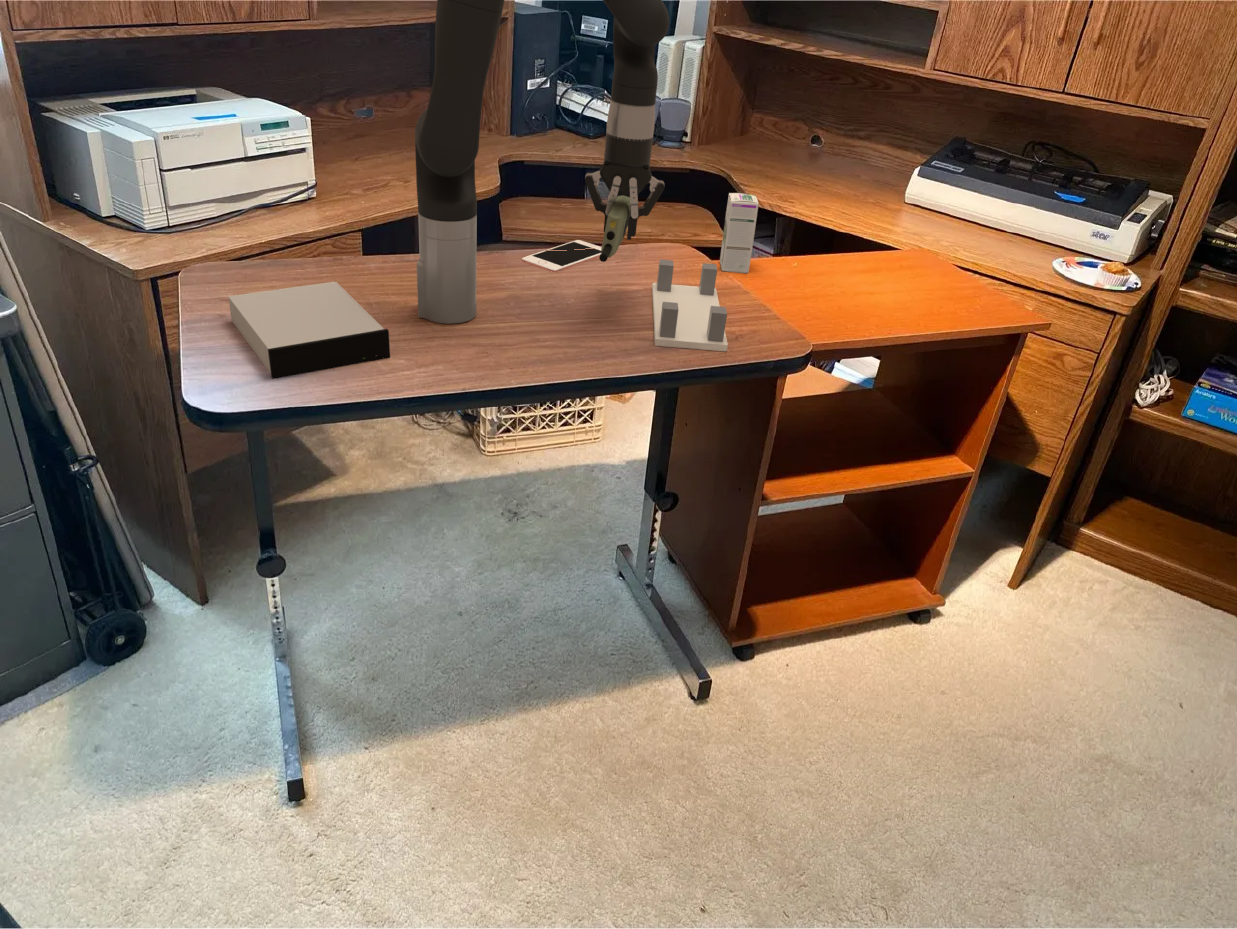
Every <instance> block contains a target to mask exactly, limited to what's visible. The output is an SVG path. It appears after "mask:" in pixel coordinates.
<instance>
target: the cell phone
mask: <svg viewBox="0 0 1237 929" xmlns="http://www.w3.org/2000/svg"><path fill="white" fill-rule="evenodd" d="M585 248H595V249H585ZM601 248H602V246H599V245H596V244H593V243H590V242H588V241H587V242H586V241H585V240H580V239H576V240H572V241H569V242H566V243H564V244H561V245H557V246H554V247H551V248H548V249H547V250H567V251H545V250H542V251H539V252H535V253H533V254H529V255H527V256H524V257H521V262H523V261H525V262H524V263H526V262H528V263H530V264H529V265H531V264H533V265H532V266H534V265H536V266H535V267H537V266H538V267H537V268H540V267H541V268H540V269H542V268H544V269H543V270H545V269H547V270H546V271H548V270H549V271H548V272H551V271H552V272H551V273H554V272H556V273H558V271H559V272H561V271H565V270H567V269H570V268H573V267H575V266H574V265H576V264H579V263H582V262H584V263H586V262H585V261H587V260H590V259H593V260H596V259H597V257H600V254H601ZM574 249H585V250H574ZM595 258H596V259H595ZM590 261H591V260H590ZM587 262H588V261H587ZM528 263H527V264H528ZM582 264H583V263H582ZM579 265H580V264H579ZM572 266H573V267H572ZM576 266H577V265H576ZM569 267H570V268H569ZM564 269H565V270H564Z"/></svg>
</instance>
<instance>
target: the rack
mask: <svg viewBox="0 0 1237 929" xmlns="http://www.w3.org/2000/svg"><path fill="white" fill-rule="evenodd" d="M674 266H675V264H674V260H670V259H663V258H662V259H661V258H659V262H658V270H657V271H658V272H657V279H656V280H657V281H656V282H652V286H651V296H652V297H651V298H652V314H653V315H652V316H653V317H652V318H653V332H654V334H653V335H654V336H653V338H654V340H653V341H654V346H655V347H667V348H677V349H678V348H680V349H692V350H702V351H703V350H704V351H716V352H727V351H728V345H729V344H728V340H727V335H726V324H727V318H728V312H727V306H721V305H720V302H719V298H718V297H719V296H718V292H717V288H716V282H717V274H718V266H717V264H716V263H706V262H705V263H704V262H703V263H702V266H701V271H700V272H701V273H700V280H699V286H696V285H695V286H693V285H686V284H685V285H683V284H682V285H681V284H673V282H672V281H673V275H674Z"/></svg>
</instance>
